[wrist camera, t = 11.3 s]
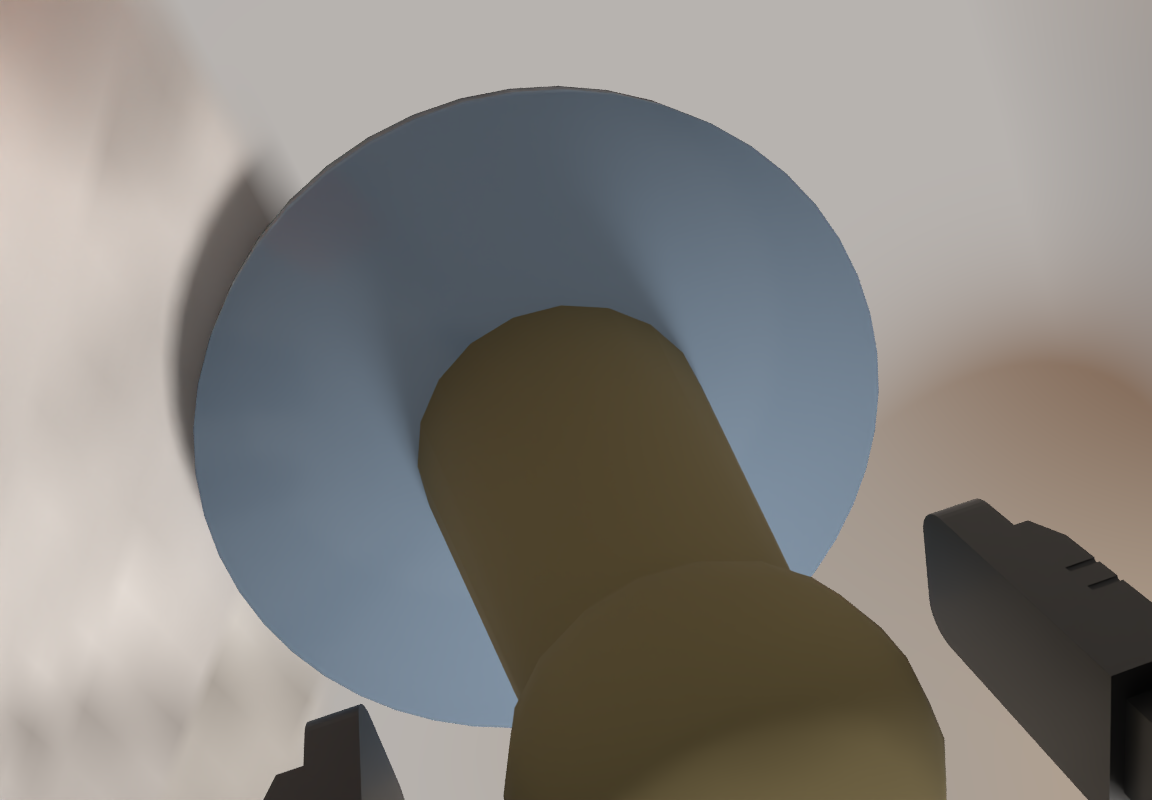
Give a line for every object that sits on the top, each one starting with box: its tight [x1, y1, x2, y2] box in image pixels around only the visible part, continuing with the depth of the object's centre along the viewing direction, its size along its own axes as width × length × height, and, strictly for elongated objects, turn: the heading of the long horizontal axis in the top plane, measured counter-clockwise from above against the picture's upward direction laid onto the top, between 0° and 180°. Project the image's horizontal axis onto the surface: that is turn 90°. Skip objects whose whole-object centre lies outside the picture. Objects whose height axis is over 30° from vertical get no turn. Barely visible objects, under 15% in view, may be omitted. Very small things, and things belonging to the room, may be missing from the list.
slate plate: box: [193, 86, 878, 728], centre depth 21 cm, size 14×14×1 cm
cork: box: [418, 305, 946, 800], centre depth 15 cm, size 6×6×11 cm
